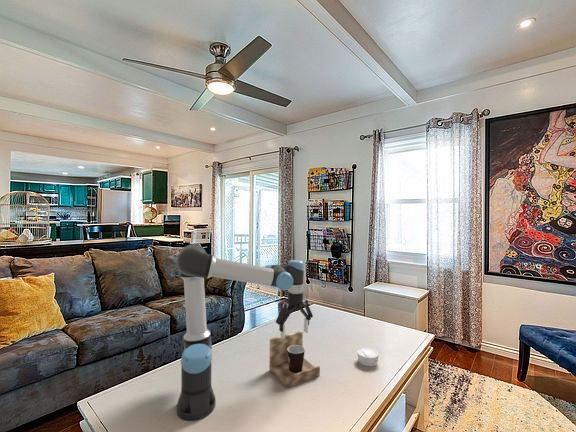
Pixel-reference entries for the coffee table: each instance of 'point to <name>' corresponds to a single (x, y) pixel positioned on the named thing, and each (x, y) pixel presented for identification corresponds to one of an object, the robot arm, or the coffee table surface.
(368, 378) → the coffee table surface
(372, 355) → the ramekin
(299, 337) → the light brown blocky piece
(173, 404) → the coffee table surface
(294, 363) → the coffee mug
